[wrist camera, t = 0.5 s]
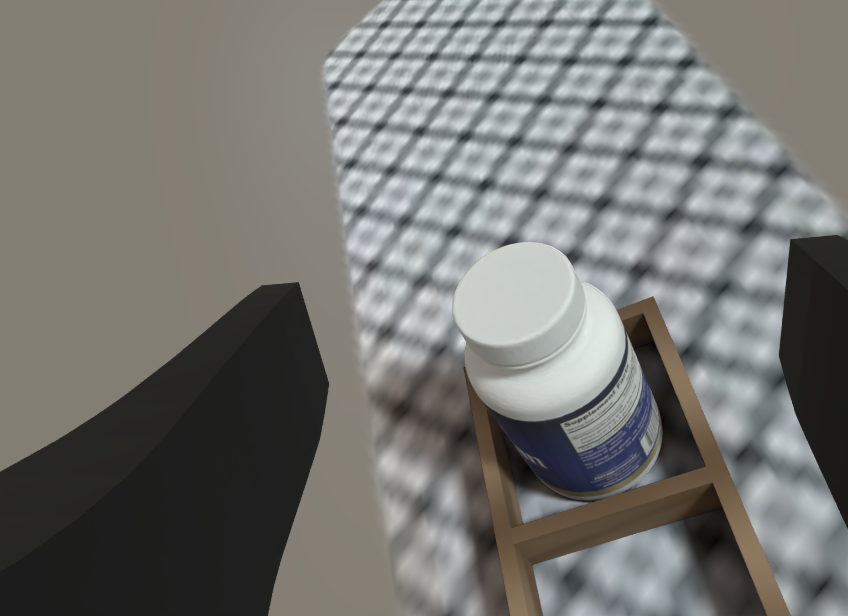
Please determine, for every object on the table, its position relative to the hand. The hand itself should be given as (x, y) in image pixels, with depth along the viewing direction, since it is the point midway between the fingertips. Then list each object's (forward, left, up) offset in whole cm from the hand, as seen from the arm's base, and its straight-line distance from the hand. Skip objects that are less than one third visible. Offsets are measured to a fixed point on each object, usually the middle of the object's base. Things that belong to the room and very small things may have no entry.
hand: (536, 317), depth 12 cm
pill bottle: (+9, +2, -18) cm, 20 cm away
